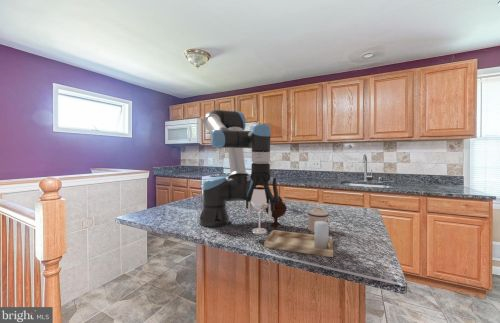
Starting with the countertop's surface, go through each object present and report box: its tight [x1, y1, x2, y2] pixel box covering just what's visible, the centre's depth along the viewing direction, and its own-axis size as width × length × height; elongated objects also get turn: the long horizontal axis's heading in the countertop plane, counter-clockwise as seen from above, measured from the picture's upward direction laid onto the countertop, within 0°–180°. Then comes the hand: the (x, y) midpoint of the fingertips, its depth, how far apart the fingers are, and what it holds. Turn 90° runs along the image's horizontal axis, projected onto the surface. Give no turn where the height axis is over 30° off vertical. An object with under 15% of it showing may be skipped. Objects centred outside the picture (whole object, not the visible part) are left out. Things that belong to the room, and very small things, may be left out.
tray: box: [263, 229, 334, 258], centre depth 85 cm, size 24×14×3 cm, turn 71°
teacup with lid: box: [307, 205, 330, 233], centre depth 103 cm, size 12×9×12 cm
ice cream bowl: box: [265, 196, 288, 228], centre depth 111 cm, size 11×11×15 cm
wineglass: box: [250, 186, 270, 235], centre depth 92 cm, size 8×8×18 cm
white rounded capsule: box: [313, 221, 330, 250], centre depth 82 cm, size 5×5×9 cm
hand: (259, 217), depth 92 cm, fingers closed on wineglass, 8 cm apart
